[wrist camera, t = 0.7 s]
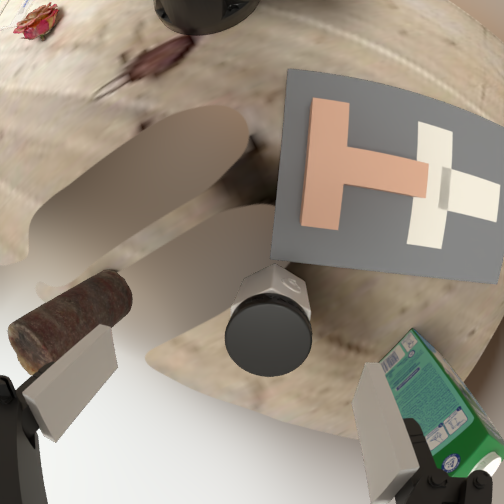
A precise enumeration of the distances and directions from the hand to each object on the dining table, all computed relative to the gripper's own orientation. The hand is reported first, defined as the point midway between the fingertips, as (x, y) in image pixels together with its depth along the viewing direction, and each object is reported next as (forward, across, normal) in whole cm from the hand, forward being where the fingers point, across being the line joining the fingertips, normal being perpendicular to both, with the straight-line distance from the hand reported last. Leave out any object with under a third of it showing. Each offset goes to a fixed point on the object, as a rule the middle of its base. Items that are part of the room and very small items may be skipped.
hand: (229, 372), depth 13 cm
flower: (+25, -44, +40) cm, 64 cm away
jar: (+24, +2, -6) cm, 25 cm away
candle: (+24, -22, -8) cm, 33 cm away
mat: (+24, +19, +11) cm, 33 cm away
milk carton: (+24, +24, -15) cm, 37 cm away
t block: (+24, +11, +11) cm, 28 cm away
